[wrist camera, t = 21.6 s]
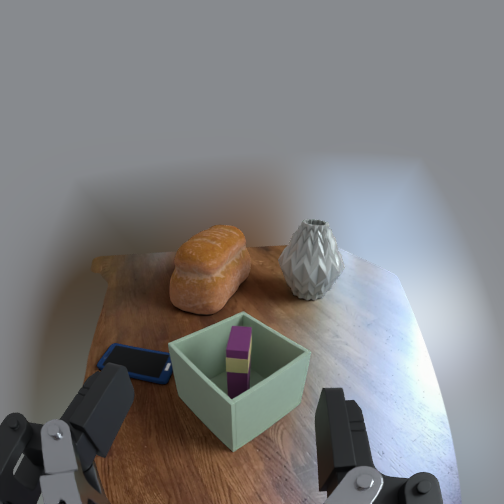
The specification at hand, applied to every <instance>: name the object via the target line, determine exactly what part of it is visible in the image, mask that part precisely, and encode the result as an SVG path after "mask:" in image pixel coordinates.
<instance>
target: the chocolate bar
mask: <svg viewBox="0 0 504 504" xmlns="http://www.w3.org/2000/svg"><path fill="white" fill-rule="evenodd" d="M251 333H252V327H243V326H232V327H231V331H230V335H229V339H228V343H227V347H226V372H227V388H228V397H229V398H230V399H233V398H235V397H237V396H238V395H240V394H242V393H243V392H245V391H247V390H248V389H250V365H251V345H252V335H251Z"/></svg>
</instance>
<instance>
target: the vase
mask: <svg viewBox="0 0 504 504" xmlns="http://www.w3.org/2000/svg"><path fill="white" fill-rule="evenodd" d="M278 262H279V264H280V267H281V269H282V272H283V275H284V278H285V280H286V282H287V285H288V286H289V287H291V291H292V292H293V295H296V296H298V298H304V299H306V300H310V299H312V300H316V299H317V298H322V297H323V295H325V294H326V292H327V291H329V290H330V289H331V288H332V286H333V285H334V284H335V282H336V280H337V279H338V277H339V276H340V275H341V273H342V272H343V270H344V269H345V267H344V263H343V259H342V256H341V254H340V252H339V251H338V248H337V243H336V239H335V237H334V236H333V234H332V230H331V229H330V228H329V224H328V222H325V221H320V220H315V219H312V220H309V219H307V220H303V221H302V224H301V226H299V228H298V230H297V231H296V232H295V233H294V234H293V236H292V238H291V240H290V242H289V245H288V246H287V247H286V248H285V249H284V251H283V252H282V254H281V256H280V258H279V259H278Z"/></svg>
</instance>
